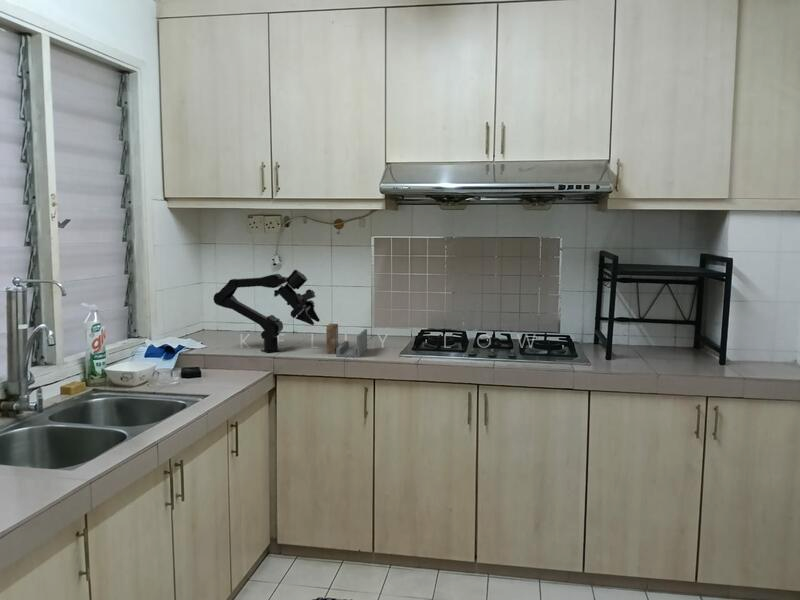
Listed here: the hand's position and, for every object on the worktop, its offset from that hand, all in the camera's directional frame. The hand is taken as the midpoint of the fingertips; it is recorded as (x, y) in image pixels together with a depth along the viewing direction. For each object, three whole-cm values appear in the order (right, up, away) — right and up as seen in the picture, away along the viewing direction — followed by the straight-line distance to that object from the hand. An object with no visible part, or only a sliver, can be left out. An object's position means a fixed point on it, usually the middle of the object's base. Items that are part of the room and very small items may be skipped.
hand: (316, 322), depth 275 cm
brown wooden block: (+7, -13, +1) cm, 14 cm away
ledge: (+15, -13, 0) cm, 20 cm away
